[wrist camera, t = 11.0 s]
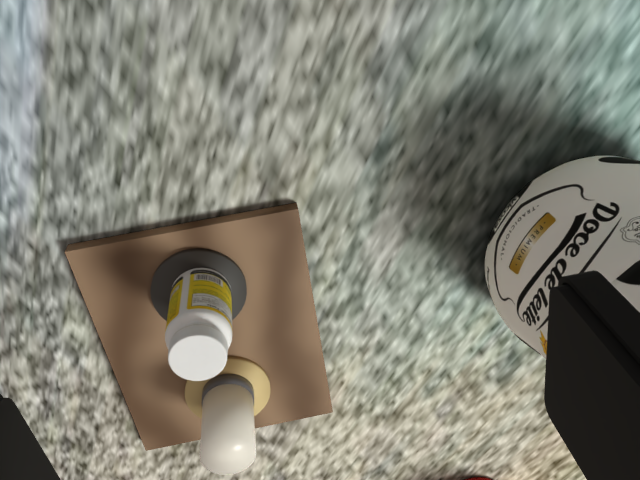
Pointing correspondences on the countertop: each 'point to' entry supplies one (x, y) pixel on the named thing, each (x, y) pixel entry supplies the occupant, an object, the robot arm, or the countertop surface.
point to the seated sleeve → (227, 424)
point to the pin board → (247, 317)
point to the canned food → (478, 478)
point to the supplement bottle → (199, 324)
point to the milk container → (565, 240)
